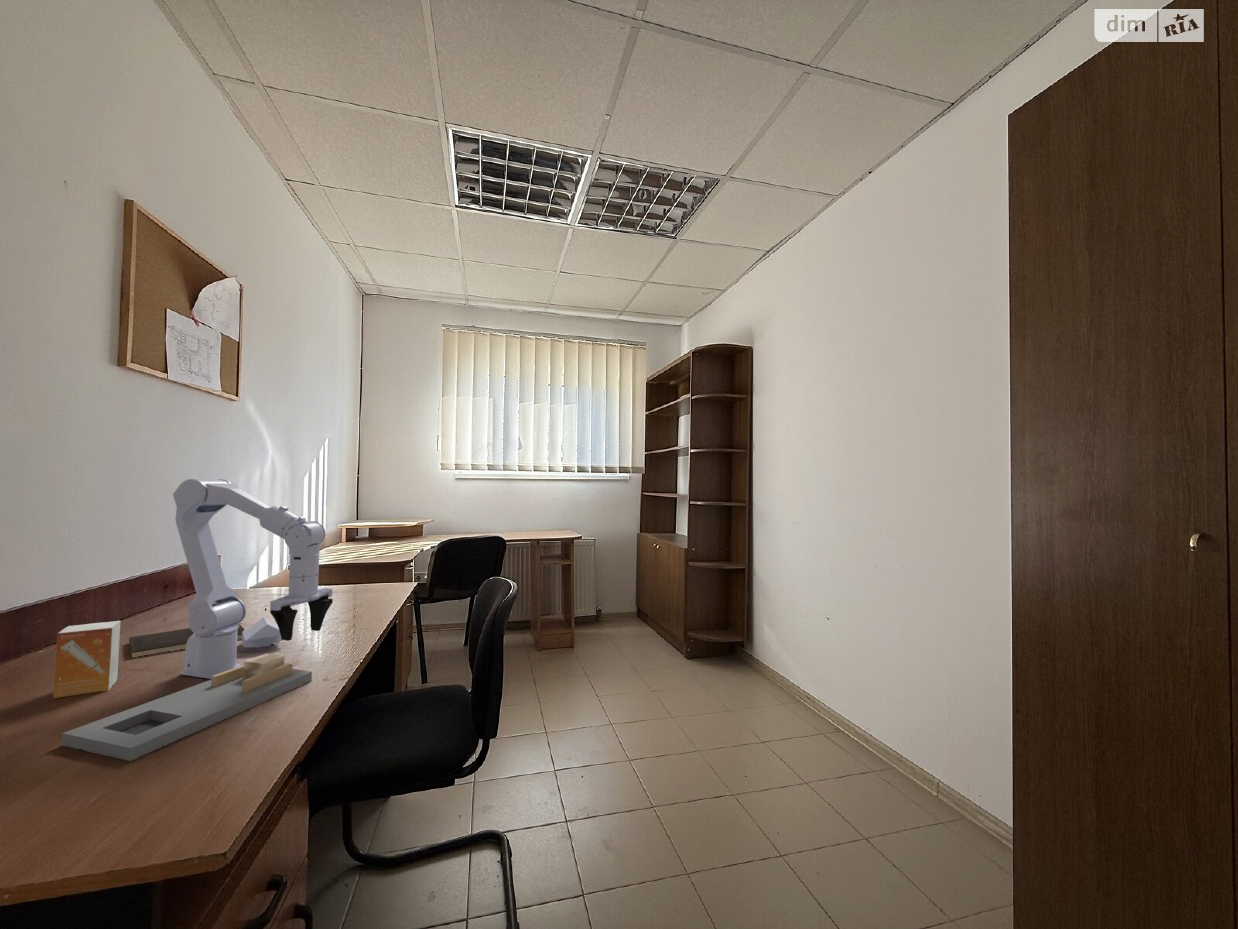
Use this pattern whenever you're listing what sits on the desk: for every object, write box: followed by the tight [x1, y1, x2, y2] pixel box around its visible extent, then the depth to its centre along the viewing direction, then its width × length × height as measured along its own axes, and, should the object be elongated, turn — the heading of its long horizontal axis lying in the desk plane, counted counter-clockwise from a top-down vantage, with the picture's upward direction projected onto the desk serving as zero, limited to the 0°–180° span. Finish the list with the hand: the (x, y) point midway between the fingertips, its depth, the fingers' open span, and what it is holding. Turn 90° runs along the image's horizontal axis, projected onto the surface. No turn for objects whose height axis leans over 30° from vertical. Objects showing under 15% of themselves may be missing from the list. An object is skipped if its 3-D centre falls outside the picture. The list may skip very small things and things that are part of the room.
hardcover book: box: [128, 624, 245, 658], centre depth 135 cm, size 16×23×2 cm
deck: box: [61, 663, 313, 762], centre depth 96 cm, size 16×33×4 cm, turn 165°
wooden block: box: [244, 653, 285, 679], centre depth 108 cm, size 5×5×4 cm
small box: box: [52, 620, 121, 699], centre depth 104 cm, size 8×6×13 cm
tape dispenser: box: [241, 616, 283, 648], centre depth 134 cm, size 9×7×13 cm
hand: (301, 635), depth 115 cm, fingers open, 7 cm apart
